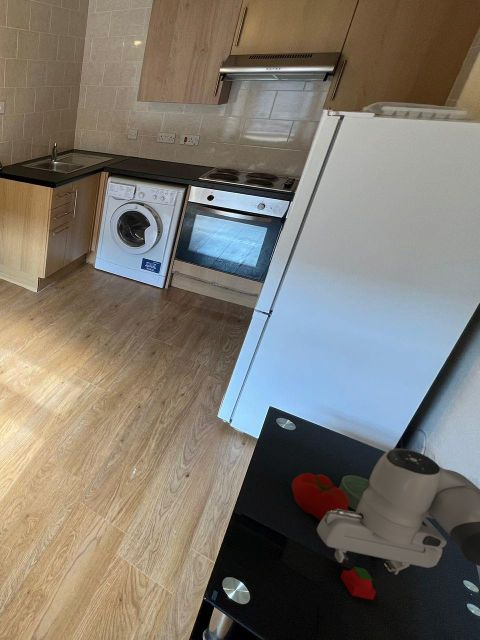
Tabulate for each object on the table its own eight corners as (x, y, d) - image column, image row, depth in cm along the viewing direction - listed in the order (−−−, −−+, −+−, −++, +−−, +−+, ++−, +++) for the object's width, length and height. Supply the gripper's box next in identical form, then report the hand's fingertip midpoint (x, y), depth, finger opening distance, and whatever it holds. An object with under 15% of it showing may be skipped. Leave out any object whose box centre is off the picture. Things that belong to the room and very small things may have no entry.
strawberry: (360, 581, 93) (367, 566, 92) (372, 600, 89) (380, 584, 88) (340, 577, 94) (346, 561, 92) (351, 595, 90) (358, 579, 89)
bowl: (372, 491, 117) (377, 479, 115) (402, 526, 106) (408, 513, 105) (328, 483, 119) (333, 472, 118) (353, 517, 109) (358, 504, 107)
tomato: (338, 537, 103) (349, 510, 100) (282, 504, 112) (291, 478, 109) (347, 513, 110) (357, 488, 107) (293, 484, 118) (301, 460, 116)
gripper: (338, 520, 85) (319, 567, 89) (457, 544, 80) (431, 592, 85) (321, 495, 90) (303, 540, 95) (430, 516, 86) (407, 562, 90)
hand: (364, 565), depth 90 cm, fingers open, 8 cm apart
